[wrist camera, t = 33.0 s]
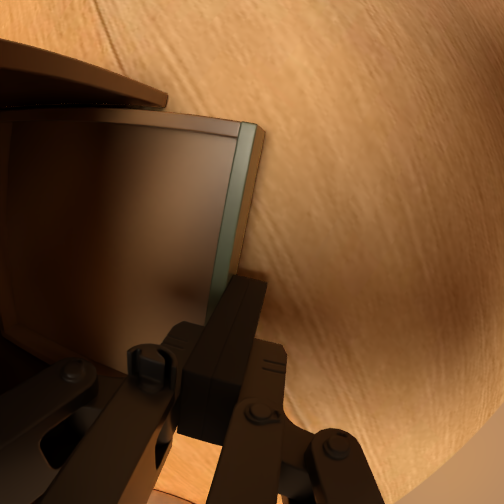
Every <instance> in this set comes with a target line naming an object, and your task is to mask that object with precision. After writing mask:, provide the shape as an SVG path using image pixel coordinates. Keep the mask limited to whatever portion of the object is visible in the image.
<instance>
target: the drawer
mask: <svg viewBox="0 0 504 504" xmlns="http://www.w3.org/2000/svg"><path fill="white" fill-rule="evenodd" d="M264 136H265V131H264V130H263V129H262V128H261V127H260V126H258V125H257V124H255V123H249V122H243V121H242V122H239V121H233V120H227V119H220V118H213V117H206V116H199V115H190V114H182V113H172V112H162V111H150V110H137V109H119V108H85V107H66V108H33V109H17V110H5V111H0V329H1V334H2V336H3V337H4V338H6V339H7V340H9V341H10V342H12V343H14V344H15V345H17V346H18V347H20V348H22V349H23V350H25V351H27V352H28V353H30V354H32V355H33V356H35V357H37V358H39V359H40V360H42V361H44V362H46V363H48V364H49V365H52V364H54V363H55V362H57V361H59V360H61V359H64V358H67V357H78V358H83V359H85V360H87V361H89V362H91V363H92V364H93V365H94V366H95V368H96V371H97V374H98V375H104V376H111V377H127V375H128V371H127V350H129V349H130V348H131V347H133V346H136V345H139V344H146V343H152V344H157V345H160V344H161V343H162V342H163V340H164V338H165V337H166V336H167V334H168V333H169V331H170V330H171V329H172V327H173V326H174V325H176V324H178V323H180V322H182V321H187V322H190V323H194V324H198V325H201V326H206V324H207V322H208V321H209V319H210V317H211V315H212V313H213V311H214V309H215V308H216V306H217V304H218V302H219V300H220V298H221V297H222V295H223V293H224V291H225V289H226V287H227V285H228V284H229V282H230V280H231V278H232V276H233V274H234V275H236V274H237V269H238V264H239V259H240V254H241V249H242V244H243V239H244V234H245V229H246V224H247V219H248V214H249V209H250V204H251V199H252V194H253V189H254V184H255V179H256V174H257V170H258V165H259V160H260V155H261V150H262V145H263V141H264Z"/></svg>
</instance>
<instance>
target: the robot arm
mask: <svg viewBox="0 0 504 504" xmlns="http://www.w3.org/2000/svg"><path fill="white" fill-rule="evenodd" d="M267 284H268V283H267V282H263V281H259V280H255V279H251V278H247V277H242V276H238V275H234V274H233V276H232V278H231V280H230V282H229V284H228V285H227V287H226V289H225V291H224V293H223V295H222V297H221V298H220V300H219V302H218V304H217V306H216V308H215V309H214V311H213V313H212V315H211V317H210V319H209V321H208V322H207V324H206V326H201V325H198V324H194V323H190V322H187V321H182V322H180V323H178V324H176V325H174V326H173V327H172V329H171V330H170V331H169V333H168V334H167V336H166V337H165V338H164V340H163V342H162V343H161V344H160V345H157V344H152V343H146V344H139V345H136V346H133V347H131V348H130V349H129V350H127V371H128V375H127V377H111V376H104V375H98V374H97V371H96V368H95V366H94V365H93V364H92V363H91V362H89V361H87V360H85V359H83V358H78V357H67V358H64V359H61V360H59V361H57V362H55V363H54V364H52V365H50V366H49V367H47V368H45V369H44V370H42V371H40V372H38V373H37V374H35V375H33V376H32V377H30V378H28V379H27V380H25V381H23V382H22V383H20V384H18V385H17V386H15V387H13V388H12V389H10V390H8V391H7V392H5V393H3V394H2V395H0V504H31V503H32V502H33V501H35V500H36V499H37V498H38V497H40V496H41V495H42V494H43V493H44V494H43V495H42V497H41V498H40V500H39V501H38V503H37V504H147V502H148V499H149V497H150V495H151V492H152V490H153V488H154V486H155V483H156V481H157V479H158V477H159V474H160V472H161V470H162V467H163V465H164V463H165V461H166V458H167V456H168V454H169V451H170V449H171V447H172V439H173V434H174V432H175V430H176V427H177V433H178V434H182V435H185V436H188V437H191V438H195V439H198V440H202V441H205V442H209V443H212V444H216V445H220V446H223V447H222V450H221V453H220V457H219V460H218V464H217V467H216V471H215V474H214V477H213V481H212V484H211V487H210V491H209V494H208V497H207V501H206V504H276V503H277V495H278V494H281V496H282V502H283V504H385V503H384V501H383V498H382V496H381V493H380V491H379V488H378V486H377V484H376V481H375V479H374V476H373V474H372V472H371V469H370V467H369V464H368V462H367V460H366V457H365V455H364V453H363V450H362V448H361V446H360V444H359V442H358V441H357V440H356V438H355V437H353V436H352V435H351V434H349V433H348V432H346V431H343V430H340V429H333V428H328V429H324V430H320V431H319V432H318V433H316V434H313V433H310V432H308V431H306V430H303V429H301V428H299V427H298V426H296V425H294V424H293V423H292V422H291V421H290V420H289V419H288V418H287V416H286V415H285V413H284V410H283V398H284V388H285V376H286V375H285V374H286V364H287V353H286V351H285V349H284V347H283V345H281V344H277V343H272V342H268V341H264V340H259V339H255V338H254V337H255V333H256V329H257V325H258V321H259V317H260V312H261V308H262V304H263V300H264V296H265V292H266V288H267ZM177 425H178V426H177Z"/></svg>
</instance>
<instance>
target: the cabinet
mask: <svg viewBox="0 0 504 504" xmlns="http://www.w3.org/2000/svg"><path fill="white" fill-rule="evenodd" d="M167 96H168V94H166V93H164V92H162V91H159V90H157V89H155V88H152V87H150V86H147V85H145V84H143V83H140V82H138V81H135V80H133V79H130V78H127V77H125V76H122V75H120V74H117V73H114V72H112V71H109V70H106V69H103V68H100V67H98V66H95V65H92V64H89V63H86V62H83V61H80V60H77V59H74V58H71V57H68V56H64V55H61V54H58V53H55V52H51V51H48V50H44V49H41V48H37V47H33V46H30V45H26V44H22V43H18V42H14V41H9V40H5V39H1V38H0V108H8V107H19V106H34V105H55V104H110V105H133V106H149V107H161V108H164V107H165V105H166V101H167ZM49 366H50V365H49V364H48V363H46V362H44V361H42V360H40V359H39V358H37V357H35V356H33V355H32V354H30V353H28V352H27V351H25V350H23V349H22V348H20V347H18V346H17V345H15V344H14V343H12V342H10V341H9V340H7V339H6V338H4V337H3V336H2V334H1V329H0V395H2V394H3V393H5V392H7V391H8V390H10V389H12V388H13V387H15V386H17V385H18V384H20V383H22V382H23V381H25V380H27V379H28V378H30V377H32V376H33V375H35V374H37V373H38V372H40V371H42V370H44V369H45V368H47V367H49ZM43 494H44V493H43ZM43 494H42V495H43ZM42 495H41V496H40V497H38V498H37V499H36V500H35V501H33V502H32V503H31V504H37V503H38V501H39V500H40V498H41V497H42Z"/></svg>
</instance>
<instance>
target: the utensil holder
mask: <svg viewBox="0 0 504 504" xmlns="http://www.w3.org/2000/svg"><path fill="white" fill-rule="evenodd" d="M147 504H192V503H190V502H188V501H185V500H183V499H180V498H178V497H175V496H172V495H169V494H166V493H163V492H160V491H156V490H152V492H151V495H150V497H149V499H148V502H147Z"/></svg>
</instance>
